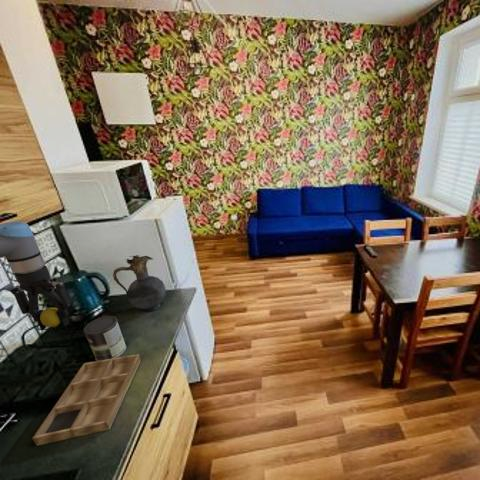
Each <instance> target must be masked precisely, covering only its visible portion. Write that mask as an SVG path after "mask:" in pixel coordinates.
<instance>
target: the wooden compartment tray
mask: <svg viewBox="0 0 480 480" xmlns="http://www.w3.org/2000/svg"><path fill="white" fill-rule="evenodd" d="M140 363H141V357H140V353H136V354H130V355H126V356H125V355H124V356H118V357H117V358H113V359H107V360H101V361H97V360H95V361H89V362H83V364H82V366H81V367H80V368H79V370H78V371H77V373H75V375H74V377H73V378H72V380H71V381H70V382H69V384H68V386H67V387H66V388H65V390H64V392H63V393H62V395H61V396H60V397H59V399H57V402H56V403H55V404H54V406H53V408H52V409H51V411H50V412H49V413H48V415H47V417H46V418H45V419H44V421H43V422H42V423H41V425H40V426H39V428H38V429H37V431H36V432H35V434H34V436H32V439H31V440H32V441H33V442H34V444H35V445H36V446H37V447H38V446H42V445H47V444H51V443H56V442H60V441H64V440H69V439H74V438H78V437H82V436H87V435H91V434H97V433H100V432H104V431H108V430H111V427H112V426H113V423H114V420H115V419H116V417H117V414H118V412H119V410H120V408H121V405H122V403H123V402H124V399H125V397H126V394H127V392H128V390H129V387H130V385H131V384H132V381H133V379H134V377H135V375H136V372H137V370H138V368H139V366H140Z"/></svg>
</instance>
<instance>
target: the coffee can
mask: <svg viewBox="0 0 480 480" xmlns="http://www.w3.org/2000/svg"><path fill="white" fill-rule="evenodd" d="M83 334H84V335H85V337H86V339H87V342H88V344H89V347H90V349H91V351H92V353H93V356H94V360H95V361H101V360H107V359H113V358H118V357H121V355H122V354H124V352H125V351H126V350H127V344H126V343H125V339H124V337H123V333H122V330H121V328H120V325H119V322H118V318H117V317H116V316H114V315H105V316H101V317H97V318H96V319H94V320H92V321H90V322H88V323H87V324H86V325H85V326H84V328H83Z"/></svg>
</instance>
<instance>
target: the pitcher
mask: <svg viewBox="0 0 480 480" xmlns="http://www.w3.org/2000/svg"><path fill="white" fill-rule="evenodd" d="M128 257H132V258H131V259H130V258H127V259H126V263H127V264H128V266H120V267H117V268H115V269H114V270H113V272H112V277H113V281H115V283H116V284H117V285H119V287H120V288H122V289H123V290H124V291H125V297H124V300H123V301H124V302H126V300H128V302H129V304H131V306H133V307H135V308H136V309H139V310H140V309H141V310H142V312H143V313H150V312H154V311H156V310H158V309H159V308H160V307H161V303H162V302H163V301H164V299H165V297H166V291H167V289H166V286H165V283H164V282H163V280H162V279H160V278H159V277H157V276H153V275H149V272H148V267H147V263H148V261H153V260H154V258H153V257H151V256H149V255H143V256H140V254H136V255H130V256H128ZM121 271H128V272H129V271H131V272H133V274H134V275H135V278H136V279H135V280H133V281H132V282H131V283H130V285H129V286H128V288H126V287H125V286H124V285H123V284H122V283H121V282H120V281H119V279H118V276H117V274H118V273H119V272H121Z"/></svg>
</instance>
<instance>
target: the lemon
mask: <svg viewBox="0 0 480 480" xmlns="http://www.w3.org/2000/svg"><path fill="white" fill-rule="evenodd" d="M42 311H43V312H42V313H41V315H40V320H41V322H42V324H43V325H44V326H46V328H57V327H58V326H59V325H60V324H61V322H60V319H59V317H58V315H57V311H58V309H57V308H56V307H46V308H45V309H44V310H42Z"/></svg>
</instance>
